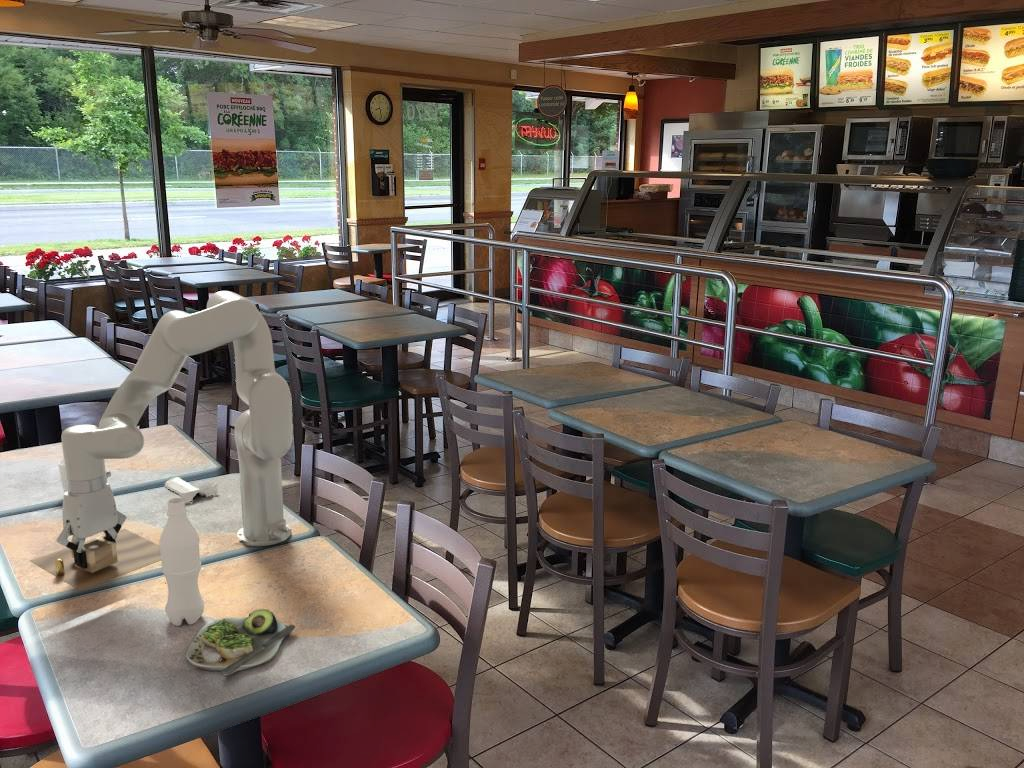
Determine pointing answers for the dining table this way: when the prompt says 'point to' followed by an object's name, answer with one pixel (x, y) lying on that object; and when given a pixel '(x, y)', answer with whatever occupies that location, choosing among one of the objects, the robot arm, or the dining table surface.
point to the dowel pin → (59, 567)
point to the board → (130, 557)
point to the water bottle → (181, 565)
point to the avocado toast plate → (239, 641)
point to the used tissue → (189, 489)
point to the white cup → (63, 475)
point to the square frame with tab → (99, 554)
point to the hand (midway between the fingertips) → (96, 560)
